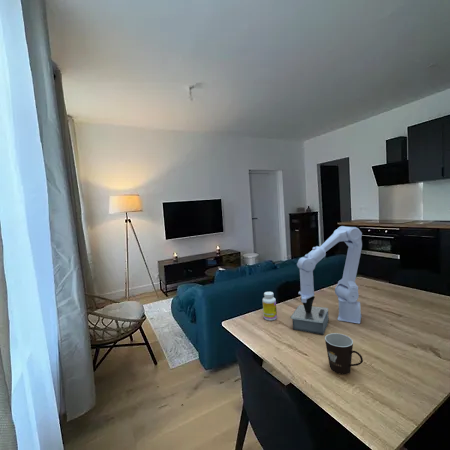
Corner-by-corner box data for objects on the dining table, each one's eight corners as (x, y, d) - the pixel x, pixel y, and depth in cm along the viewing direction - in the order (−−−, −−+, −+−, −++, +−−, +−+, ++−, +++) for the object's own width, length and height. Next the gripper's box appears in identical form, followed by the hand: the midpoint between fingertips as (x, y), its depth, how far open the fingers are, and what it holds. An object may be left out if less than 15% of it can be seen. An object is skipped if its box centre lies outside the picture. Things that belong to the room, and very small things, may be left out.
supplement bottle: (277, 321, 121) (275, 295, 120) (263, 320, 122) (261, 295, 121) (276, 315, 127) (275, 290, 126) (263, 315, 129) (262, 290, 128)
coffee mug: (321, 362, 88) (320, 334, 87) (344, 359, 88) (343, 332, 88) (339, 385, 76) (338, 353, 75) (366, 381, 77) (364, 350, 76)
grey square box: (328, 321, 117) (328, 310, 117) (323, 335, 105) (322, 323, 105) (300, 316, 124) (300, 306, 123) (292, 329, 112) (292, 318, 111)
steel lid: (328, 309, 117) (327, 305, 117) (322, 323, 104) (322, 319, 104) (298, 306, 124) (298, 302, 124) (290, 318, 112) (289, 314, 111)
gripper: (301, 278, 122) (303, 305, 123) (293, 287, 109) (295, 317, 110) (316, 279, 118) (318, 307, 119) (310, 289, 106) (311, 320, 107)
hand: (308, 312), depth 114 cm, fingers closed, pressing on steel lid
